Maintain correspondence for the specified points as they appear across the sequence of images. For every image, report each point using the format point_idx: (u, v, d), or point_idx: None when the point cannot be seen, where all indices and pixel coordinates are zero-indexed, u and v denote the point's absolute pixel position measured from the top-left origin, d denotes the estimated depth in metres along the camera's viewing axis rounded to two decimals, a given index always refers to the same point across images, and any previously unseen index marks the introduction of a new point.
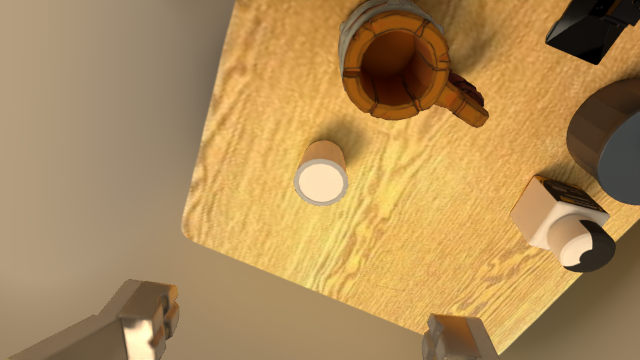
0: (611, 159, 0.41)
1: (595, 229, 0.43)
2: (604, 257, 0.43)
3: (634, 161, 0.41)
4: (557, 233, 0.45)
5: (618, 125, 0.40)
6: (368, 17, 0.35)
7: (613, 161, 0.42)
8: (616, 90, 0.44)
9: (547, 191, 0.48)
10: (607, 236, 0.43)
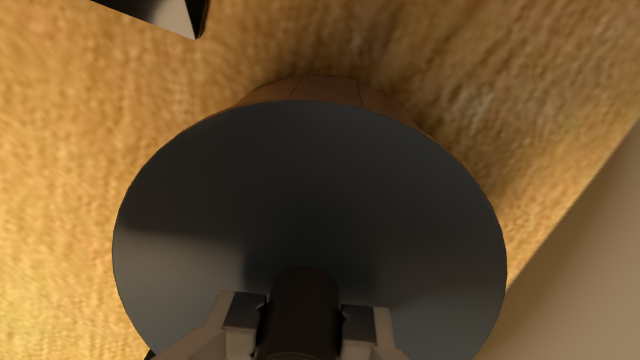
0: (155, 305, 0.13)
1: None
2: None
3: None
4: None
5: None
6: None
7: (163, 310, 0.14)
8: None
9: (149, 350, 0.20)
10: None
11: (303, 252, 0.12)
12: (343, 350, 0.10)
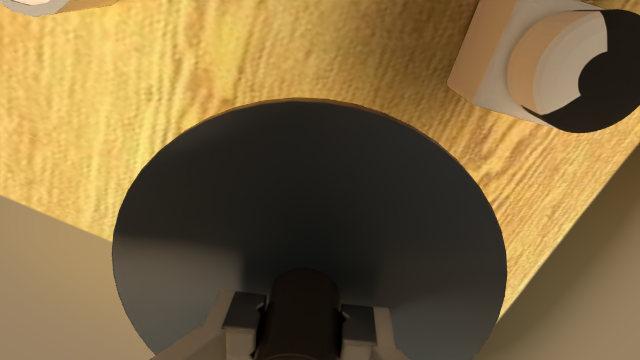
0: (155, 307, 0.13)
1: None
2: (637, 77, 0.18)
3: None
4: (526, 46, 0.20)
5: None
6: None
7: (163, 311, 0.14)
8: None
9: None
10: None
11: (303, 253, 0.12)
12: (343, 350, 0.10)
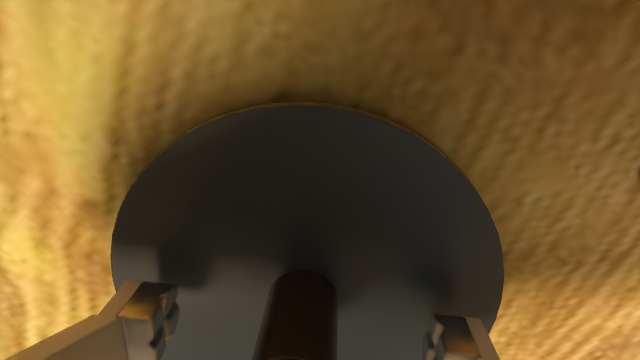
0: None
1: None
2: None
3: (223, 315, 0.13)
4: None
5: None
6: None
7: None
8: None
9: None
10: None
11: (301, 256, 0.12)
12: None
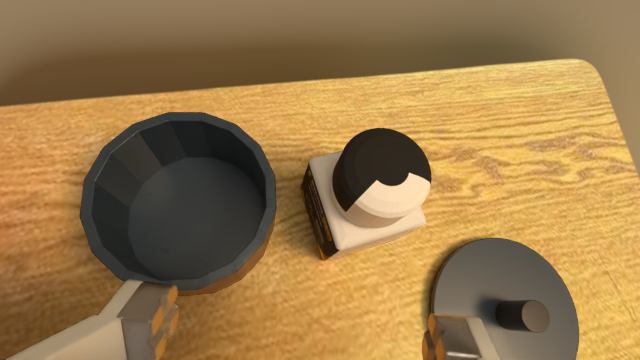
0: None
1: (344, 194, 0.23)
2: (375, 147, 0.23)
3: (536, 339, 0.32)
4: (385, 224, 0.25)
5: None
6: None
7: None
8: None
9: (334, 254, 0.29)
10: (341, 173, 0.23)
11: (493, 327, 0.32)
12: None
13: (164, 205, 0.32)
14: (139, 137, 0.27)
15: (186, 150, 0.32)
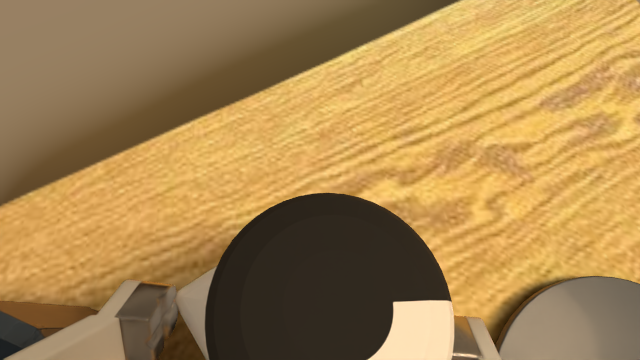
0: None
1: None
2: (286, 261, 0.09)
3: None
4: None
5: None
6: None
7: None
8: None
9: None
10: None
11: None
12: None
13: None
14: None
15: None
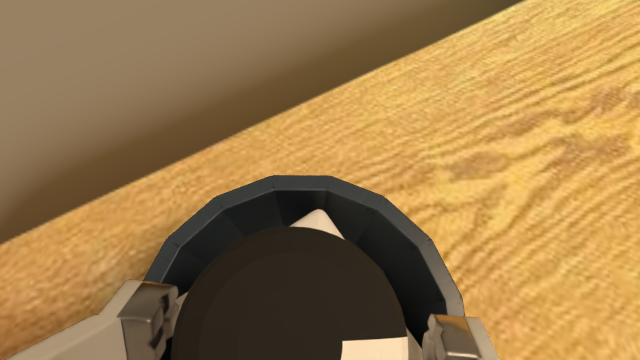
0: None
1: None
2: (243, 300, 0.09)
3: None
4: None
5: None
6: None
7: None
8: None
9: None
10: None
11: None
12: None
13: None
14: (184, 254, 0.15)
15: (248, 235, 0.20)
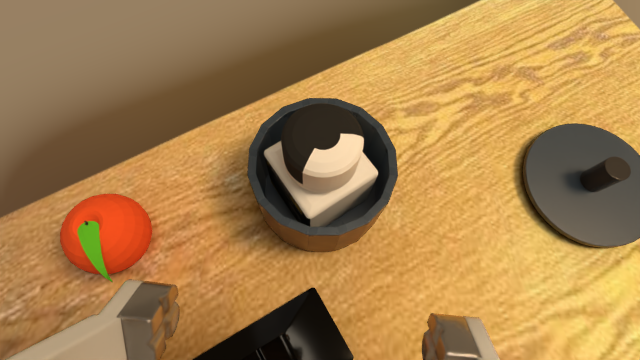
0: None
1: (293, 168, 0.27)
2: (306, 121, 0.27)
3: (621, 191, 0.38)
4: (338, 183, 0.28)
5: (631, 241, 0.36)
6: None
7: None
8: (313, 248, 0.34)
9: (311, 225, 0.32)
10: (285, 151, 0.27)
11: (584, 193, 0.38)
12: None
13: None
14: (268, 133, 0.33)
15: None
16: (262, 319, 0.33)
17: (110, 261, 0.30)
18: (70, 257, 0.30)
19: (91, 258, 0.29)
